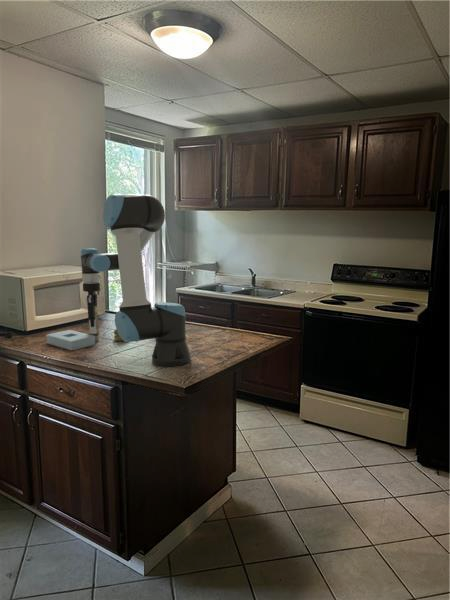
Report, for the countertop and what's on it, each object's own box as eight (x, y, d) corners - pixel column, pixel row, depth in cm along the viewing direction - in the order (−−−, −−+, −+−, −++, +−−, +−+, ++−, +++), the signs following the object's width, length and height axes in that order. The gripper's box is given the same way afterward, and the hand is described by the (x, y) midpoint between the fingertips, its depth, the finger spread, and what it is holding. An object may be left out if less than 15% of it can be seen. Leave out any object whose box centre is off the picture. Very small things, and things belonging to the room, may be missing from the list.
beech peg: (96, 342, 204) (94, 308, 202) (88, 341, 205) (86, 307, 203) (100, 339, 208) (99, 306, 206) (92, 339, 209) (90, 306, 207)
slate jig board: (95, 344, 200) (94, 335, 200) (71, 350, 191) (71, 341, 190) (70, 337, 213) (69, 329, 212) (46, 343, 204) (46, 334, 203)
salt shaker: (118, 337, 212) (117, 317, 211) (132, 338, 211) (131, 317, 209) (111, 341, 205) (110, 320, 204) (126, 342, 204) (125, 321, 202)
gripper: (96, 284, 195) (99, 336, 198) (102, 279, 211) (104, 327, 215) (79, 284, 194) (82, 337, 197) (86, 280, 210) (89, 328, 214)
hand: (94, 332), depth 206 cm, fingers closed on beech peg, 4 cm apart
